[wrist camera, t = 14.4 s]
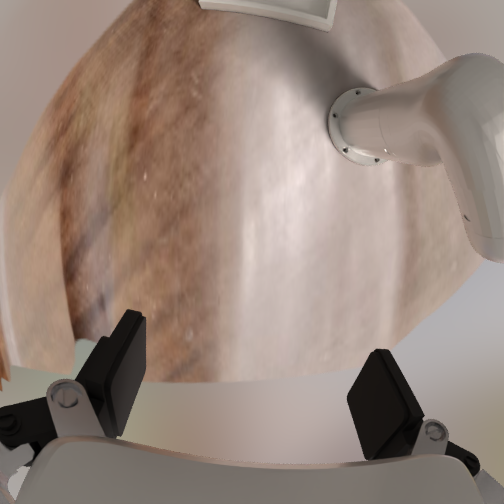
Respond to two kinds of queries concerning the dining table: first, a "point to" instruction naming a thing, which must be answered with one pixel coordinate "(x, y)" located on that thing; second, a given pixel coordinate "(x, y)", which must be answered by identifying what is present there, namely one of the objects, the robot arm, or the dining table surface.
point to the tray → (282, 10)
